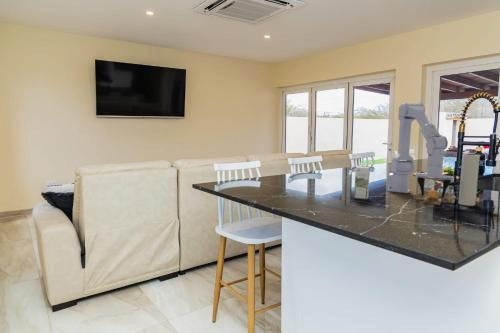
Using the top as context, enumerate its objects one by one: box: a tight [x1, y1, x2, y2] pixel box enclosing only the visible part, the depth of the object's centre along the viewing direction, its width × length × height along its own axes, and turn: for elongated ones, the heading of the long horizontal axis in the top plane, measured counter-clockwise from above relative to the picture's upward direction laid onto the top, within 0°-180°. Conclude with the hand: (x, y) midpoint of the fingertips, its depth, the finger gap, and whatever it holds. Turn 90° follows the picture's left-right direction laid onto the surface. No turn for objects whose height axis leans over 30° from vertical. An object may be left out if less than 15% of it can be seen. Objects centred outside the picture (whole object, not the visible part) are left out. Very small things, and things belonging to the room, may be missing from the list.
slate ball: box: [424, 185, 431, 191], centre depth 161 cm, size 4×4×4 cm
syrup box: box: [353, 165, 371, 200], centre depth 156 cm, size 6×6×14 cm
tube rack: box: [412, 186, 457, 204], centre depth 157 cm, size 16×13×4 cm
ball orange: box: [428, 189, 438, 199], centre depth 148 cm, size 4×4×4 cm
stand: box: [422, 197, 442, 206], centre depth 148 cm, size 6×6×2 cm
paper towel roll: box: [458, 153, 481, 207], centre depth 144 cm, size 7×6×21 cm
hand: (432, 196), depth 148 cm, fingers open, 7 cm apart
